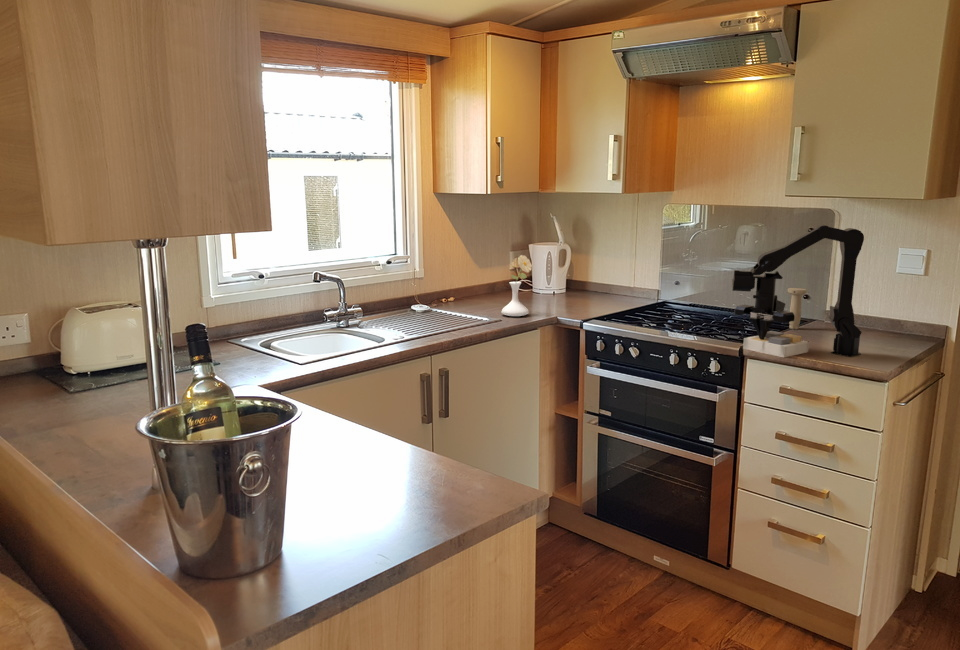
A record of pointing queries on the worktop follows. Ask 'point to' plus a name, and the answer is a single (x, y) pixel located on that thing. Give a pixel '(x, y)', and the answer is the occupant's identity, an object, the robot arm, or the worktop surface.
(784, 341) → the charcoal key near
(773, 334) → the charcoal key far
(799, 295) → the handle
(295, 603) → the worktop surface
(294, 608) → the worktop surface
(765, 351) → the keypad
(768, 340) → the ochre key
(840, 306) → the robot arm
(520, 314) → the flower in vase
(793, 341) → the ochre key
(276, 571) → the worktop surface
